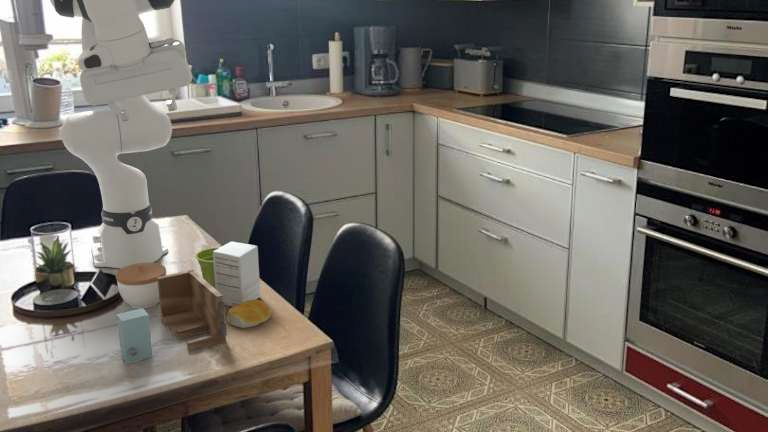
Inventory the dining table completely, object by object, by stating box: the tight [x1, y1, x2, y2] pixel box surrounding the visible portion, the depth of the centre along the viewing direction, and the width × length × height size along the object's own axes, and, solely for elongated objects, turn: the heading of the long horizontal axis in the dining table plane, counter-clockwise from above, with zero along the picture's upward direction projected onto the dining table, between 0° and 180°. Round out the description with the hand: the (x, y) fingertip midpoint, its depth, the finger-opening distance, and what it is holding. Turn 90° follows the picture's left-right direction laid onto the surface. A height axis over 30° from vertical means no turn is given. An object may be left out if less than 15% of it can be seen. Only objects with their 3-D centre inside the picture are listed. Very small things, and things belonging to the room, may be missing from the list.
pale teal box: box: [116, 308, 154, 365], centre depth 148 cm, size 5×5×9 cm
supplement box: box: [213, 241, 261, 308], centre depth 173 cm, size 7×7×13 cm
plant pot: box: [195, 246, 220, 288], centre depth 180 cm, size 9×9×9 cm
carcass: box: [157, 269, 228, 352], centre depth 159 cm, size 18×8×10 cm, turn 34°
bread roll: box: [226, 299, 271, 329], centre depth 165 cm, size 8×9×4 cm
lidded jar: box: [115, 262, 167, 310], centre depth 172 cm, size 11×11×9 cm
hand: (149, 115), depth 151 cm, fingers open, 8 cm apart
